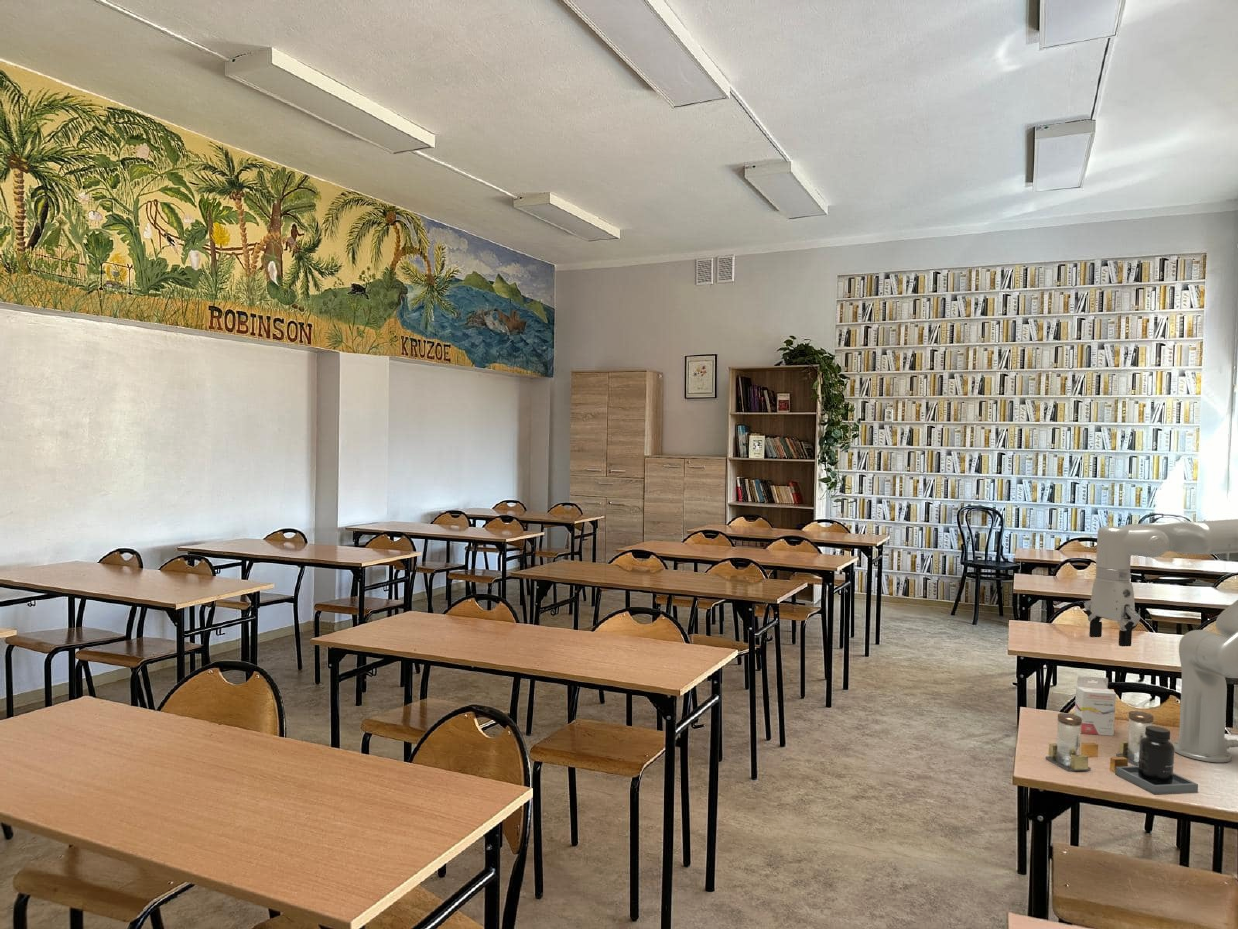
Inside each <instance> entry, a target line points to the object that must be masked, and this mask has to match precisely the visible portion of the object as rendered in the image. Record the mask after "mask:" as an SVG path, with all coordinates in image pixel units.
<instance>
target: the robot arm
mask: <svg viewBox="0 0 1238 929" xmlns="http://www.w3.org/2000/svg"><path fill="white" fill-rule="evenodd" d="M1096 537H1097V540H1096V561H1095V577H1094V581H1093V583H1092V589H1091V596H1090V597H1091V598H1090V600H1087V601H1086V602H1084V603H1083V605H1084V609H1085V614H1086V615H1087V617H1088V618H1087V620H1088V622H1089V633H1088V636H1089V638H1102V635H1103V634H1102V631H1103V621H1101V620H1102V619H1105V620H1109V621H1113V622H1117V624H1118V626H1119V627H1120V629H1119V630H1118V646H1119V647H1132V638H1133V637H1132V636H1133V631H1134V630H1135V629H1136V628H1137V626H1138V623H1139V622H1140V620H1141V615H1140V614H1139V613H1138V612H1137V611H1136V607H1135V592H1134V586H1133V583H1132V582H1130V581H1131V580H1130V579H1131V578H1132V575H1131V561H1132V560H1131V559H1132V558H1131V557H1132V556H1137V557H1144V558H1149V559H1150V558H1151V559H1153V558H1159V557H1161V556H1164V555H1165V554H1166V553H1167V552H1171V553H1172V552H1173V553H1181V554H1187V555H1202V556H1204V555H1216V554H1217V555H1219V554H1237V553H1238V518H1234V519H1221V520H1220V519H1218V520H1217V519H1216V520H1202V521H1178V522H1177V521H1175V522H1148V523H1145V522H1144V523H1130V524H1125V525H1123V526H1112V525H1111V526H1110V525H1108V526H1107V525H1105V526H1104V525H1103V526H1101V527H1099V528H1098V530H1097V536H1096ZM1215 627H1216V630H1217V632H1219V633H1216V632H1212V631H1210V630H1209V631H1208V630H1203V629H1195V630H1190V631H1187V632H1186V633H1185V634H1184V635H1183V636H1182V637H1181V639H1180V641H1179V644H1178V655H1179V661H1180V668H1181V685H1180V686H1181V691H1180V711H1179V730H1178V731H1179V734H1178V740H1175V741H1172V742H1171V743H1172V744H1173V746H1174V753H1177V754H1178V755H1181V756H1184V757H1187V758H1188V759H1189V758H1190V759H1193V760H1199V761H1202V762H1209V763H1228V762H1230V761H1231V760H1232V754H1231V752H1229V751H1228V750H1229V749H1230V748H1238V740H1237V739H1228V738H1226V737H1225V734H1226V713H1227V712H1226V711H1227V694H1228V692H1227V691H1228V688H1227V687H1228V686H1227V680H1226V678H1228V679H1238V599H1237V600H1235V601H1234V602H1233V603H1231V604H1230V605H1229V606H1227V607H1226V608H1225V609H1224V610H1222V611H1221V612H1220V614H1219V615H1218V616H1217V618H1216V621H1215Z"/></svg>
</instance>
